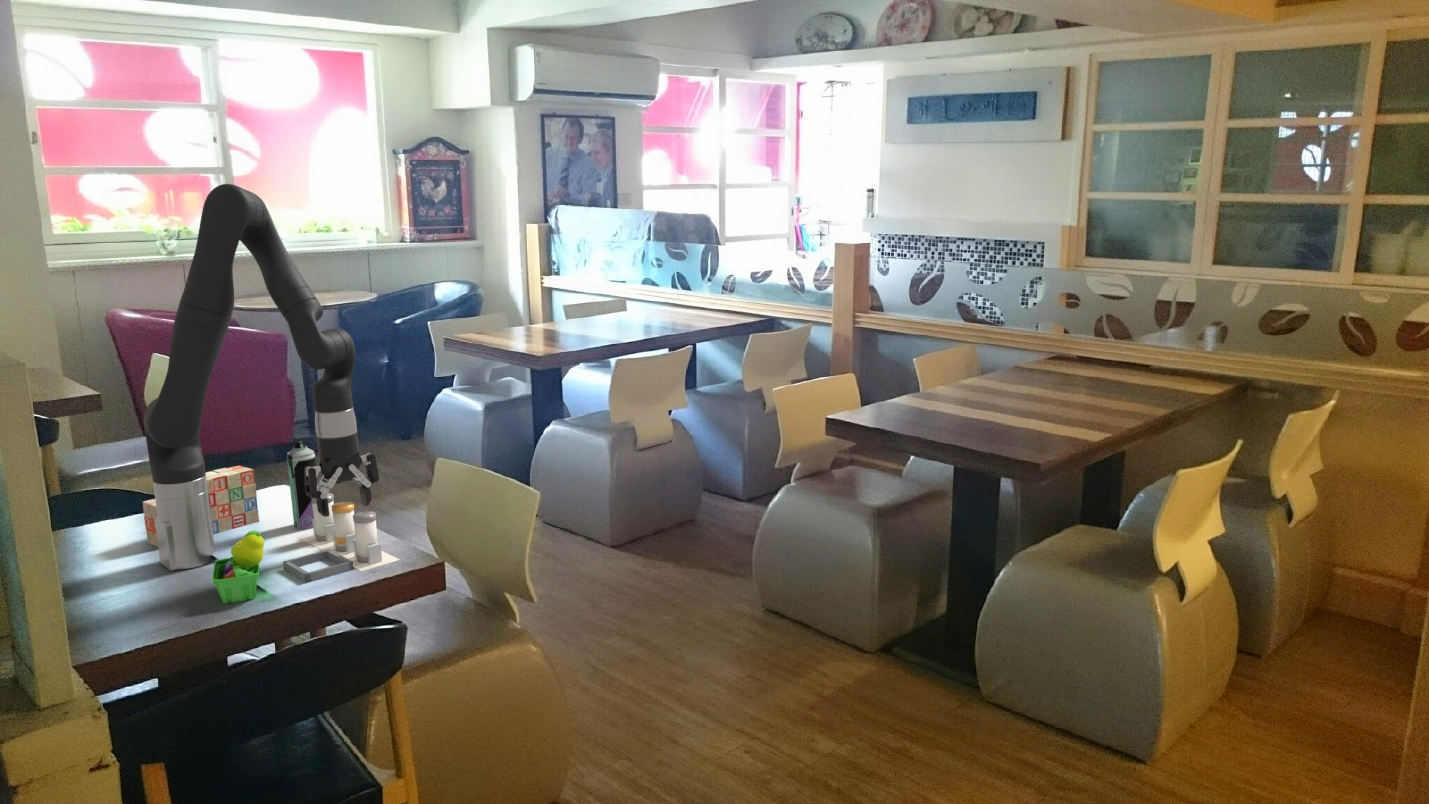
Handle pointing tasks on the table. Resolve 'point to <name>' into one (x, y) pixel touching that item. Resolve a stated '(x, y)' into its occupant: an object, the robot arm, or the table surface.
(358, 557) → the fuse right
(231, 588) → the fruit basket
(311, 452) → the spray can
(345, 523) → the fuse marked
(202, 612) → the table surface
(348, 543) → the fuse strip
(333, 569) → the tray
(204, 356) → the robot arm
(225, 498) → the stack of blocks
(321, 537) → the fuse left
